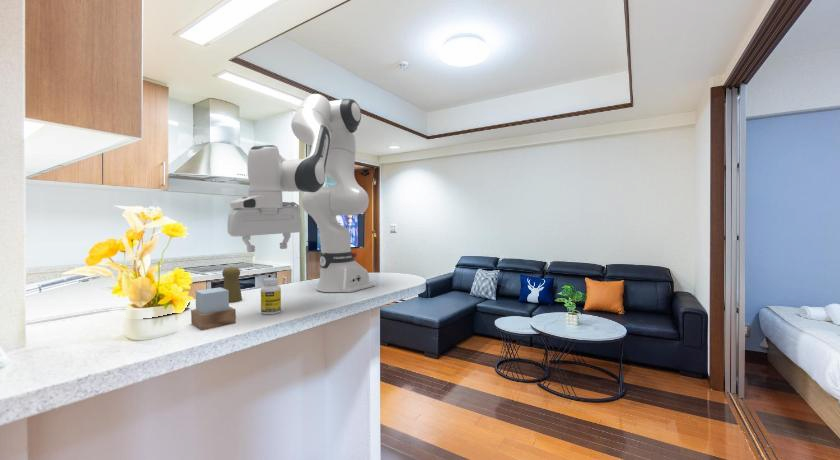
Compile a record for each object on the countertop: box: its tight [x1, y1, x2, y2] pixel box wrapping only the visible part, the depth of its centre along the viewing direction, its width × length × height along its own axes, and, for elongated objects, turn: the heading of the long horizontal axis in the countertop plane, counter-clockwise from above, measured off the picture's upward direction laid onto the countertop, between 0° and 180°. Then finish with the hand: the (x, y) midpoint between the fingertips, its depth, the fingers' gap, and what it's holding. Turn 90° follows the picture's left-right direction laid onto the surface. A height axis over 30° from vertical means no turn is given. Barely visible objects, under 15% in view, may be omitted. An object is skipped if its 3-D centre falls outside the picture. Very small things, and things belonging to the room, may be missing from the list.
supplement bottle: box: [260, 277, 282, 316], centre depth 104 cm, size 5×5×10 cm
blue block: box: [194, 287, 230, 314], centre depth 93 cm, size 6×6×5 cm
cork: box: [221, 267, 243, 304], centre depth 119 cm, size 6×6×11 cm
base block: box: [190, 306, 237, 331], centre depth 94 cm, size 8×8×4 cm
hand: (267, 250), depth 103 cm, fingers open, 8 cm apart
